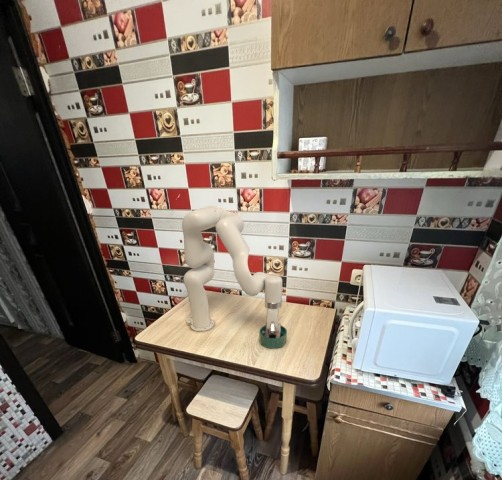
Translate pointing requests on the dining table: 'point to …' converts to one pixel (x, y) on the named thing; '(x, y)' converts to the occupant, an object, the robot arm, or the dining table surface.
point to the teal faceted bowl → (273, 341)
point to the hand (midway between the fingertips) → (272, 335)
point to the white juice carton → (278, 332)
